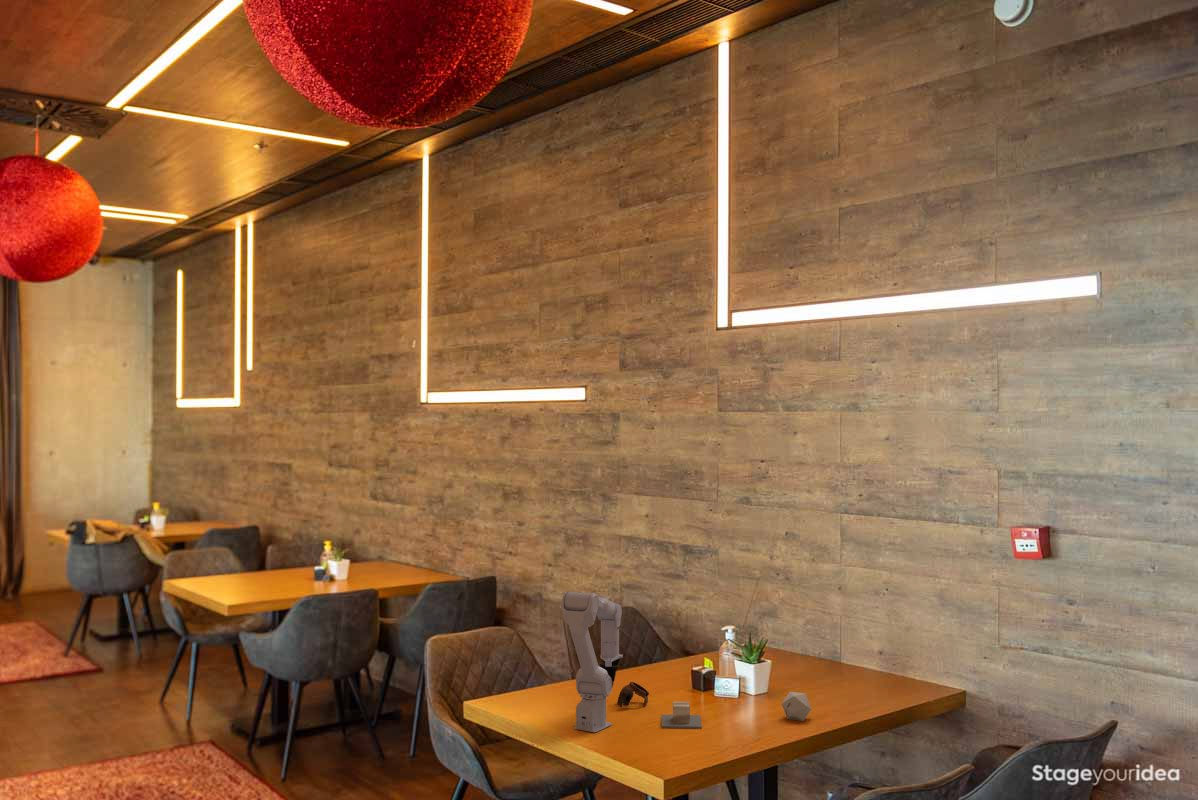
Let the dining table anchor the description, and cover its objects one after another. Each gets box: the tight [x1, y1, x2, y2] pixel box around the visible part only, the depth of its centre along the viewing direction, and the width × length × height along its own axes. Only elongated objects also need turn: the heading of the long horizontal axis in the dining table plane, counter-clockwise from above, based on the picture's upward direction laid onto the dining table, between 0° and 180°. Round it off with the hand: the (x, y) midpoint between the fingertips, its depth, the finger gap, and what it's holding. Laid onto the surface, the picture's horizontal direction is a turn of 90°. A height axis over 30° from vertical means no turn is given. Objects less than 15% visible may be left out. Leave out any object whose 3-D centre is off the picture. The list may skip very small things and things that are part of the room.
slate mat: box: [661, 714, 703, 730], centre depth 303 cm, size 12×12×1 cm
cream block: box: [672, 701, 691, 723], centre depth 303 cm, size 5×5×5 cm
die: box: [781, 691, 813, 722], centre depth 307 cm, size 8×9×10 cm
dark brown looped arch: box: [616, 681, 650, 708], centre depth 321 cm, size 12×10×8 cm
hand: (610, 684), depth 312 cm, fingers open, 7 cm apart
